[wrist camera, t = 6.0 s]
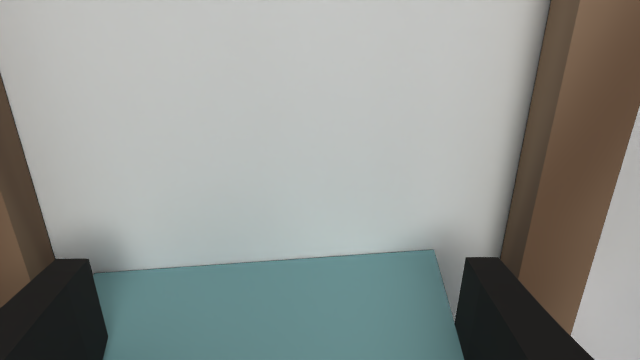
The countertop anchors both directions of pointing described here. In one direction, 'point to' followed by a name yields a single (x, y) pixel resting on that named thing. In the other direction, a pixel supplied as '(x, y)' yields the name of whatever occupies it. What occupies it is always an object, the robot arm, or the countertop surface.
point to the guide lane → (533, 171)
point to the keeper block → (282, 310)
